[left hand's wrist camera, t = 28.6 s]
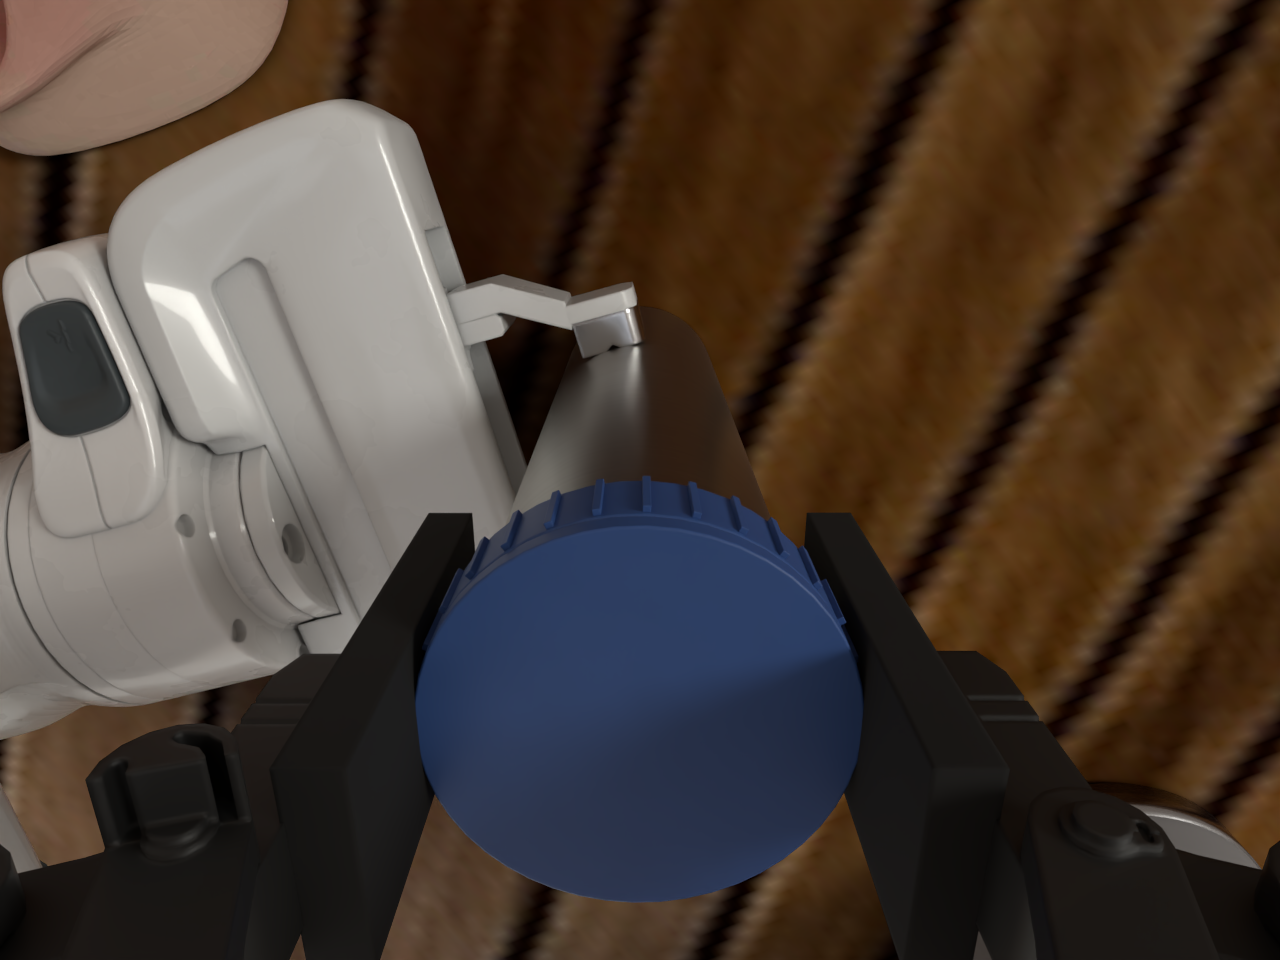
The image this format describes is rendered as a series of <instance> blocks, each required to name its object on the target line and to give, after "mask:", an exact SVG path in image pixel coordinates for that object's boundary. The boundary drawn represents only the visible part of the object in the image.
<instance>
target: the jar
mask: <svg viewBox="0 0 1280 960" xmlns="http://www.w3.org/2000/svg"><path fill="white" fill-rule="evenodd" d="M639 308H640V312H641V316H642V320H643V324H644V328H645V332H646V334H645V335H646V339H645V340H644V341H642V342H640V343H638V344H635V345H632V346H626V347H618V346H615V345H612V346H611V347H610V348H609V349H608V351H606V352H603V353H601V354H598V355H594V356H590V357H587V358H582V355H581V352H580V349H579V345H578V342H576V344H575V346H574V348H573V350H572V353H571V356H570V358H569V361H568V363H567V366H566V369H565V371H564V374H563V376H562V379H561V382H560V384H559V387H558V389H557V392H556V395H555V397H554V400H553V402H552V405H551V407H550V410H549V413H548V415H547V418H546V420H545V423H544V426H543V428H542V431H541V433H540V436H539V439H538V441H537V444H536V446H535V449H534V452H533V454H532V457H531V459H530V462H529V465H528V467H527V470H526V472H525V475H524V478H523V480H522V483H521V485H520V488H519V490H518V493H517V496H516V498H515V501H514V503H513V506H512V509H511V511H510V514H509V516H508V519H507V522H506V524H505V525H507V524H508V523H509V522H510V519H511V516H512V514H513V513H514V512H515V511H517V510H519V511H520V512H521V513H524V512H526V511H527V510H529V509H531V508H533V507H534V506H536V505H538V504H540V503H542V502H544V501H547V500H549V499H550V498H551V494H552V492H555V491H557V490H559V491H560V493H561V494H563V493H567V492H570V491H574V490H577V489H581V488H584V487H588V486H592V485H595V484H596V480H598V479H604V482H605V483H611V482H618V481H642V476H650V480H651V481H656V482H666V483H676V484H680V485H685V486H688V482H689V481H691V482H695V483H696V484H697V488H698V489H703V490H705V491H708V492H711V493H714V494H717V495H720V496H722V497H725V498H728V499H731V497H732V495H733V496H736V497H738V498H739V499H740V503H741V505H742V506H744V507H746V508H748V509H750V510H752V511H753V512H755V513H756V514H758V515H759V516H761V517H762V518H763V519H765V520H766V521H768V520H769V519H770V518H771V517H770V515H769V512H768V509H767V507H766V504H765V502H764V499H763V496H762V494H761V491H760V489H759V486H758V483H757V481H756V478H755V476H754V473H753V470H752V468H751V465H750V463H749V460H748V457H747V455H746V452H745V449H744V447H743V444H742V442H741V439H740V436H739V434H738V431H737V429H736V426H735V423H734V421H733V418H732V416H731V413H730V410H729V408H728V405H727V402H726V400H725V397H724V395H723V392H722V389H721V387H720V384H719V382H718V379H717V376H716V374H715V371H714V369H713V366H712V363H711V361H710V358H709V355H708V353H707V351H706V348H705V346H704V344H703V343H702V341H701V339H700V338H699V336H698V335H697V334H696V333H695V331H694V330H693V329H692V328H691V327H690V326H689V325H688V324H687V323H685V322H684V321H683V320H681V319H680V318H678V317H676V316H675V315H673V314H671V313H669V312H666V311H663V310H661V309H656V308H652V307H642V306H640V307H639Z"/></svg>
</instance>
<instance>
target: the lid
mask: <svg viewBox="0 0 1280 960" xmlns="http://www.w3.org/2000/svg"><path fill="white" fill-rule="evenodd" d="M845 623H846V621H845V619H844V616H843V614H842V612H841V610H840V608H839V606H838V603H837V601H836V599H835V597H834V595H833V593H832V590H831V588H830V586H829V584H828V582H827V580H826V579H824V580H822V581H820V579H819V577H818V574H817V572H816V570H815V568H814V565H813V563H812V561H811V559H810V556H809V554H808V552H807V550H806V549H805V548H804V546H801V547H800V548H797V547H796V546H795V545H794V544H793V543H792V542H791V541H790V540H789V539H788V538H787V537H786V536H785V535H784V534H783V533H781V531H780V529H779V526H778V524H777V521H776V520H774V519H773V518H772V517H771V518H770V519H769V520H768V521H766V520H765V519H763V518H762V517H761V516H759V515H758V514H756V513H755V512H753V511H752V510H750V509H748V508H746V507H744V506H742V505H741V503H740V499H739V498H738V497H736V496H733V495H732V497H731V499H728V498H725V497H722V496H720V495H717V494H714V493H711V492H708V491H705V490H703V489H698V488H697V484H696V483H695V482H691V481H689V482H688V486H685V485H680V484H676V483H666V482H656V481H651V480H650V476H642V481H618V482H611V483H605V482H604V479H598V480H596V484H595V485H592V486H588V487H584V488H581V489H577V490H574V491H570V492H567V493H563V494H561V493H560V491H559V490H557V491H555V492H552V494H551V498H550V499H549V500H547V501H544V502H542V503H540V504H538V505H536V506H534V507H533V508H531V509H529V510H527V511H526V512H524V513H521V512H520V511H519V510H517V511H515V512H514V513H513V514H512V516H511V519H510V522H509V523H508V524H507V525H505V526H504V527H503V528H502V529H500V530H499V531H498V532H496V533H495V534H494V535H493V536H492V537H491V538H490V539H488V538H486V537H485V536H484V537H483V538H482V539H481V540H480V542H479V544H478V547H477V549H476V551H475V553H474V556H473V558H472V560H471V561H470V563H469V564H468V566H467V567H466V568H465V570H462V569H460V568H459V569H458V570H457V572H456V574H455V576H454V578H453V580H452V582H451V584H450V586H449V589H448V591H447V593H446V595H445V597H444V599H443V602H442V604H441V606H440V608H439V610H438V613H437V615H436V617H435V619H434V622H433V624H432V626H431V628H430V630H429V632H428V634H427V637H426V639H425V641H424V643H423V646H422V650H425V651H426V652H425V655H424V658H423V661H422V664H421V667H420V671H419V674H418V678H417V684H416V690H415V707H416V717H417V726H418V735H419V744H420V753H421V760H422V765H423V768H424V771H425V774H426V776H427V778H428V780H429V783H430V785H431V787H432V789H433V791H434V793H435V795H436V797H437V798H438V800H439V801H440V803H441V804H442V806H443V807H444V809H445V810H446V812H447V813H448V815H449V816H450V817H451V818H452V820H453V821H454V822H455V823H456V824H457V825H458V826H459V827H460V829H461V830H462V831H463V832H464V833H465V834H466V835H467V836H468V837H469V838H470V839H471V840H472V841H474V842H475V843H476V844H477V845H478V846H479V847H480V848H482V849H483V850H484V851H485V852H486V853H488V854H489V855H491V856H492V857H493V858H495V859H496V860H498V861H499V862H501V863H502V864H504V865H505V866H507V867H508V868H510V869H512V870H514V871H516V872H518V873H520V874H522V875H523V876H525V877H527V878H529V879H531V880H534V881H536V882H539V883H541V884H544V885H546V886H549V887H551V888H554V889H557V890H561V891H564V892H568V893H571V894H575V895H579V896H584V897H589V898H595V899H601V900H607V901H620V902H661V901H669V900H677V899H685V898H690V897H694V896H699V895H703V894H707V893H712V892H715V891H718V890H721V889H724V888H726V887H729V886H732V885H735V884H738V883H740V882H742V881H744V880H746V879H749V878H751V877H753V876H755V875H757V874H759V873H761V872H763V871H765V870H766V869H768V868H770V867H771V866H773V865H774V864H776V863H778V862H779V861H781V860H783V859H784V858H785V857H787V856H788V855H789V854H790V853H792V852H793V851H794V850H796V849H797V848H798V847H799V846H801V845H802V844H803V843H804V842H805V841H806V840H807V839H808V838H809V837H810V836H811V835H812V834H813V833H814V832H815V831H816V830H817V829H818V828H819V827H820V826H821V825H822V824H823V822H824V821H825V820H826V818H827V817H828V816H829V815H830V813H831V812H832V811H833V809H834V808H835V807H836V805H837V803H838V802H839V800H840V798H841V796H842V795H843V793H844V791H845V790H846V788H847V786H848V784H849V781H850V779H851V776H852V774H853V771H854V769H855V766H856V764H857V761H858V753H859V745H860V737H861V728H862V719H863V708H864V696H863V687H862V682H861V678H860V674H859V670H858V666H857V662H858V654H857V652H856V649H855V647H854V645H853V643H852V641H851V638H850V636H849V634H848V632H847V630H846V627H845V625H844V624H845Z"/></svg>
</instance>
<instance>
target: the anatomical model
mask: <svg viewBox="0 0 1280 960" xmlns="http://www.w3.org/2000/svg"><path fill="white" fill-rule="evenodd" d="M287 4H288V0H0V146H2V147H4V148H6V149H8V150H11V151H14V152H17V153H22V154H26V155H34V156H51V155H58V154H65V153H72V152H78V151H83V150H87V149H91V148H95V147H99V146H102V145H106V144H110V143H113V142H117V141H121V140H124V139H127V138H130V137H132V136H135V135H138V134H141V133H144V132H147V131H150V130H152V129H155V128H157V127H160V126H162V125H165V124H167V123H170V122H172V121H175V120H177V119H180V118H182V117H184V116H186V115H189V114H191V113H193V112H195V111H197V110H199V109H202V108H204V107H206V106H207V105H209V104H211V103H213V102H215V101H216V100H218V99H220V98H222V97H223V96H225V95H227V94H229V93H230V92H232V91H233V90H234V89H236V88H237V87H239V86H240V85H241V84H243V83H244V82H245V81H246V80H247V79H248V78H249V77H251V76H252V75H253V74H254V73H255V72H256V70H257V69H258V68H259V67H260V66H261V65H262V64H263V62H264V61H265V59H266V58H267V56H268V55H269V53H270V52H271V50H272V48H273V46H274V43H275V41H276V39H277V37H278V35H279V33H280V30H281V27H282V23H283V20H284V17H285V13H286V9H287Z"/></svg>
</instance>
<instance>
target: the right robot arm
mask: <svg viewBox="0 0 1280 960" xmlns="http://www.w3.org/2000/svg"><path fill="white" fill-rule="evenodd" d="M2 291H3V300H4V306H5V311H6V316H7V320H8V325H9V329H10V334H11V338H12V343H13V347H14V352H15V357H16V362H17V366H18V371H19V376H20V382H21V387H22V392H23V398H24V404H25V411H26V417H27V423H28V431H29V441H28V442H26V443H25V444H23V445H22V446H20V447H19V448H17V449H15V450H14V451H11V452H7V453H0V740H1V739H6V738H10V737H14V736H18V735H22V734H25V733H28V732H31V731H34V730H38V729H41V728H43V727H46V726H48V725H51V724H53V723H55V722H57V721H58V720H60V719H62V718H64V717H66V716H67V715H69V714H71V713H72V712H74V711H76V710H77V709H79V708H81V707H83V706H86V705H98V706H111V707H130V706H140V705H147V704H152V703H155V702H160V701H164V700H169V699H173V698H177V697H181V696H185V695H189V694H193V693H197V692H202V691H206V690H210V689H214V688H218V687H223V686H227V685H231V684H235V683H239V682H244V681H248V680H252V679H256V678H260V677H264V676H269V675H273V674H275V673H277V672H278V671H279V670H281V669H282V668H284V667H285V666H287V665H288V664H289V663H291V662H292V661H294V660H295V659H297V658H298V657H299V656H301V655H302V654H341V653H342V651H343V650H344V648H345V646H346V645H347V643H348V642H349V640H350V638H351V637H352V635H353V634H354V632H355V630H356V629H357V627H358V626H359V624H360V622H361V621H362V619H363V618H364V616H365V614H366V613H367V611H368V610H369V608H370V606H371V605H372V603H373V602H374V600H375V598H376V597H377V595H378V594H379V592H380V590H381V589H382V587H383V585H384V584H385V582H386V581H387V579H388V577H389V576H390V574H391V573H392V571H393V569H394V568H395V566H396V565H397V563H398V561H399V560H400V558H401V557H402V555H403V553H404V552H405V550H406V549H407V547H408V545H409V544H410V542H411V541H412V539H413V537H414V536H415V534H416V533H417V531H418V529H419V528H420V526H421V524H422V523H423V521H424V520H425V518H426V516H427V515H428V513H472V516H473V529H474V542H475V551H476V549H477V547H478V544H479V542H480V540H481V539H482V538H483V537H484V536H485V537H486V538H488V539H490V538H491V537H492V536H493V535H494V534H495V533H496V532H498V531H499V530H500V529H502V528H503V527H504V526H505V524H506V522H507V519H508V516H509V514H510V511H511V509H512V506H513V503H514V501H515V498H516V496H517V493H518V490H519V488H520V485H521V483H522V480H523V478H524V475H525V472H526V470H527V467H528V466H527V464H526V461H525V458H524V455H523V452H522V449H521V446H520V443H519V440H518V437H517V434H516V431H515V428H514V425H513V422H512V419H511V416H510V413H509V410H508V407H507V404H506V401H505V398H504V395H503V392H502V389H501V386H500V383H499V380H498V377H497V374H496V371H495V368H494V365H493V362H492V359H491V356H490V353H489V350H488V347H487V344H486V340H490V339H493V338H497V337H500V336H503V334H504V333H505V332H506V331H507V330H508V328H509V327H510V326H511V325H512V324H513V323H514V321H515V319H516V317H520V318H524V319H528V320H533V321H537V322H541V323H545V324H549V325H553V326H557V327H561V328H565V329H569V330H572V329H573V330H574V333H575V336H576V339H577V342H578V345H579V349H580V352H581V355H582V358H587V357H590V356H594V355H598V354H601V353H603V352H606V351H608V349H609V348H610V347H611V346H612V345H615V346H618V347H626V346H632V345H635V344H638V343H640V342H642V341H644V340H645V339H646V335H645V334H646V332H645V328H644V324H643V320H642V316H641V312H640V308H639V304H638V300H637V296H636V293H635V289H634V286H633V282H627V283H620V284H617V285H613V286H609V287H606V288H602V289H598V290H595V291H591V292H587V293H584V294H580V295H577V296H573V297H571V294H570V292H566V291H562V290H559V289H555V288H551V287H548V286H544V285H541V284H537V283H533V282H530V281H526V280H522V279H519V278H515V277H511V276H508V275H504V274H502V275H498V276H494V277H491V278H487V279H484V280H480V281H477V282H473V283H469V284H466V282H465V279H464V276H463V273H462V270H461V267H460V264H459V261H458V258H457V255H456V252H455V249H454V246H453V243H452V240H451V237H450V234H449V231H448V228H447V225H446V222H445V219H444V216H443V214H442V211H441V208H440V205H439V202H438V199H437V196H436V193H435V190H434V187H433V184H432V181H431V178H430V175H429V172H428V169H427V166H426V163H425V160H424V157H423V154H422V151H421V148H420V145H419V142H418V139H417V137H416V134H415V132H414V131H413V129H412V128H411V127H410V126H409V125H408V124H407V123H406V122H404V121H402V120H400V119H399V118H397V117H395V116H393V115H391V114H390V113H388V112H386V111H384V110H382V109H380V108H378V107H375V106H373V105H371V104H368V103H365V102H362V101H357V100H349V99H335V100H328V101H323V102H319V103H315V104H312V105H309V106H305V107H302V108H299V109H296V110H293V111H290V112H288V113H285V114H282V115H279V116H277V117H274V118H271V119H269V120H266V121H263V122H261V123H259V124H256V125H254V126H251V127H249V128H246V129H244V130H242V131H239V132H237V133H235V134H232V135H230V136H228V137H226V138H224V139H221V140H219V141H217V142H215V143H213V144H211V145H208V146H206V147H204V148H202V149H200V150H198V151H196V152H194V153H193V154H191V155H189V156H187V157H185V158H183V159H181V160H179V161H177V162H175V163H173V164H171V165H170V166H168V167H166V168H164V169H162V170H161V171H159V172H157V173H156V174H154V175H153V176H151V177H149V178H148V179H146V180H145V181H144V182H143V183H141V184H140V185H139V186H137V187H136V188H135V189H134V190H133V191H132V192H131V193H130V194H129V195H128V196H127V197H126V198H125V200H124V201H123V202H122V203H121V205H120V206H119V208H118V209H117V211H116V213H115V215H114V217H113V220H112V222H111V225H110V228H109V232H108V233H105V234H98V235H92V236H87V237H83V238H79V239H75V240H71V241H67V242H63V243H59V244H56V245H53V246H50V247H47V248H43V249H41V250H38V251H35V252H33V253H30V254H27V255H25V256H22V257H20V258H18V259H16V260H15V261H13V262H12V263H10V265H9V266H8V267H7V268H6V270H5V273H4V276H3V284H2ZM0 844H1V845H2V846H3V847H4V848H6V849H7V850H8V851H9V852H10V853H11V856H12V858H13V861H14V864H15V867H16V870H17V873H21V872H25V871H30V870H34V869H38V868H43V867H47V865H46V864H45V863H43V862H42V861H40V860H39V859H38V857H37V855H36V853H35V851H34V849H33V847H32V845H31V843H30V841H29V839H28V837H27V835H26V833H25V831H24V829H23V827H22V825H21V823H20V821H19V819H18V817H17V815H16V813H15V811H14V809H13V807H12V805H11V803H10V801H9V800H8V798H7V796H6V794H5V792H4V790H3V788H2V786H1V784H0Z"/></svg>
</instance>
